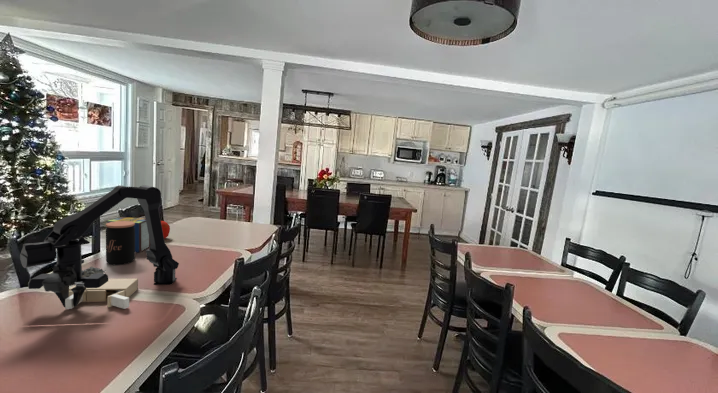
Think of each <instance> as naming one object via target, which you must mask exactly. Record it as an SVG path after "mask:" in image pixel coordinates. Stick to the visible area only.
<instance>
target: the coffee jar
mask: <svg viewBox="0 0 718 393" xmlns="http://www.w3.org/2000/svg"><path fill="white" fill-rule="evenodd" d="M134 225H135V223H134V222H131V221H116V222H109V223H107V222H106V223H105V227H106V229H105V261H106V263H107V264H108V265H110V266H112V265H113V266H121V265H127V264H130V263H132V262H134V260H135V258H136V252H135V228H134Z"/></svg>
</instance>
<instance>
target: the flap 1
mask: <svg viewBox="0 0 718 393" xmlns="http://www.w3.org/2000/svg"><path fill="white" fill-rule="evenodd" d="M86 302H87V293H86V291H84V293H83V295H82V297H81V299H80V301H79V303H78V305H79V304H80V303H86ZM64 308H65V310H72V309H73V308H75V307H74V305H73V291H69V297H68V298H66V299H65V307H64Z"/></svg>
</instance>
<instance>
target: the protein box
mask: <svg viewBox="0 0 718 393" xmlns="http://www.w3.org/2000/svg"><path fill="white" fill-rule="evenodd" d="M116 221H131V222H134V223H135V225H134V228H135V253H141V252H143V251H145V250H147V249H149V248H150V245H151V244H150V239H149V234H148V229H147V223H146V218H143V217H142V218H140V217H126V216H123V217H122V216H120V217H117V218H112V219H110V220H107V221H106V224H107V223H109V222H116ZM148 247H149V248H148ZM146 248H147V249H146ZM144 249H145V250H144ZM142 250H143V251H142ZM140 251H141V252H140Z"/></svg>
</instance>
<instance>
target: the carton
mask: <svg viewBox="0 0 718 393" xmlns="http://www.w3.org/2000/svg"><path fill="white" fill-rule="evenodd" d="M74 287H76V285H75V284H73V285H72V286H70V287H69V291H72V290H71V289H72V288H74ZM86 290H87V291H86V293H87V301H86V302H87V303H92V302H94V303H95V302H107V301H108V300H107V296H110V295H113V294H115V290H126V297H129V298H130V297H131V295H133V294H134V293H135V292H136V291H137V290H139V278H108V282H106V283H105V284H103V285H102V286H101V287H99V288H86Z"/></svg>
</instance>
